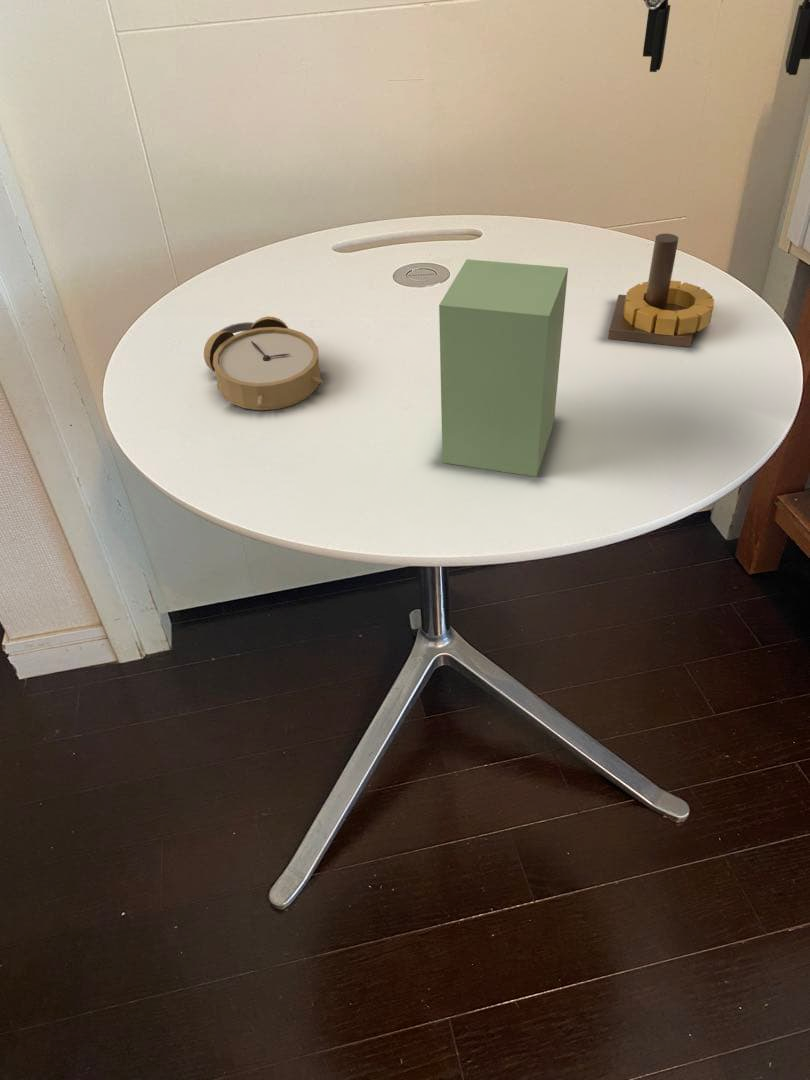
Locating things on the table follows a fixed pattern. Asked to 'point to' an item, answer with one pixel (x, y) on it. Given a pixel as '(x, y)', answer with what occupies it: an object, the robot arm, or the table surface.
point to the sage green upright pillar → (500, 364)
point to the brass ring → (666, 320)
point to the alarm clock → (263, 364)
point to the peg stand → (652, 298)
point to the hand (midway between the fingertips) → (721, 69)
